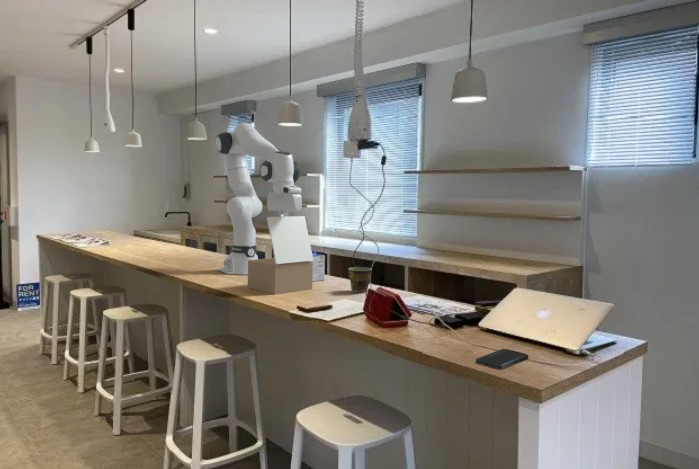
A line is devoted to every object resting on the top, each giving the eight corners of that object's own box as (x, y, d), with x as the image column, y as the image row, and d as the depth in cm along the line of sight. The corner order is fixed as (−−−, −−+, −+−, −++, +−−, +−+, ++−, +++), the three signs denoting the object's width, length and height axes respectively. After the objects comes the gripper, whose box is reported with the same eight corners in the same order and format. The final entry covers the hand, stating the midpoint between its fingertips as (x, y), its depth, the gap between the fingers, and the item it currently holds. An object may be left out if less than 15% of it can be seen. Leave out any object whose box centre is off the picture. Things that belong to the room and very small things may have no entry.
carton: (247, 287, 238) (247, 260, 237) (284, 282, 251) (284, 257, 250) (274, 294, 223) (275, 265, 222) (312, 289, 237) (312, 261, 236)
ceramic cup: (356, 288, 241) (356, 266, 240) (375, 291, 235) (376, 268, 234) (339, 292, 230) (339, 269, 229) (358, 296, 224) (359, 272, 223)
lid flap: (266, 217, 225) (267, 217, 225) (303, 216, 239) (304, 216, 238) (275, 264, 222) (276, 264, 222) (312, 260, 236) (313, 260, 235)
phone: (530, 354, 146) (500, 366, 136) (529, 359, 146) (500, 371, 136) (503, 348, 152) (473, 359, 141) (503, 352, 152) (473, 363, 141)
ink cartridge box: (319, 278, 265) (319, 249, 264) (325, 280, 260) (325, 250, 259) (301, 280, 259) (302, 250, 258) (307, 282, 255) (308, 251, 253)
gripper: (263, 189, 237) (263, 221, 238) (292, 188, 223) (292, 222, 224) (275, 189, 242) (275, 220, 243) (304, 189, 227) (304, 222, 228)
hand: (283, 221), depth 233 cm, fingers closed
